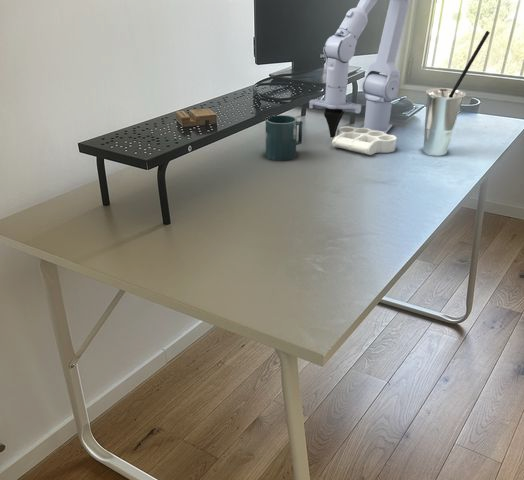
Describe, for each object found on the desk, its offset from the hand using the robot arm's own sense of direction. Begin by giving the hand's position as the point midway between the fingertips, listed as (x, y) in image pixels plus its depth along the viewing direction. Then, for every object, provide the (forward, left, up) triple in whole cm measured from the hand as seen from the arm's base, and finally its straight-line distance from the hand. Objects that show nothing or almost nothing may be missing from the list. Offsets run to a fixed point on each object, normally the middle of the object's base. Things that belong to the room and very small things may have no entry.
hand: (332, 136), depth 160 cm
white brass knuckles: (+1, +9, -2) cm, 10 cm away
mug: (+16, -9, -1) cm, 18 cm away
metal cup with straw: (-2, +30, -2) cm, 30 cm away
